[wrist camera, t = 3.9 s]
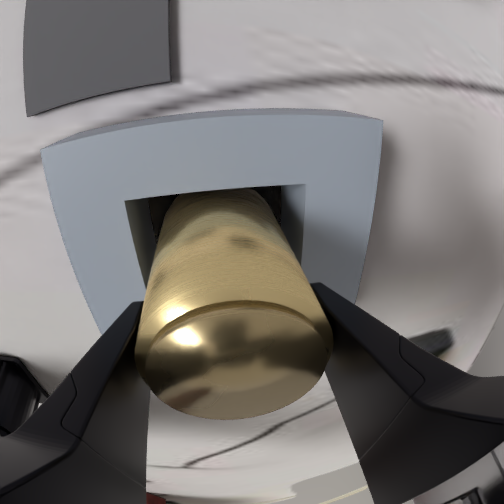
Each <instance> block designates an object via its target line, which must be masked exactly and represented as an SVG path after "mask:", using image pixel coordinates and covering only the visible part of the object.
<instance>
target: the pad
mask: <svg viewBox="0 0 504 504" xmlns="http://www.w3.org/2000/svg"><path fill="white" fill-rule="evenodd" d="M23 72H24V91H25V103H26V113H27V117H30V116H33V115H35V114H38V113H41V112H44V111H47V110H50V109H53V108H56V107H59V106H62V105H65V104H68V103H72V102H75V101H79V100H82V99H86V98H90V97H93V96H97V95H101V94H106V93H110V92H114V91H119V90H124V89H129V88H134V87H139V86H145V85H151V84H157V83H164V82H171V68H170V42H169V0H26V9H25V21H24V39H23Z"/></svg>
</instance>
